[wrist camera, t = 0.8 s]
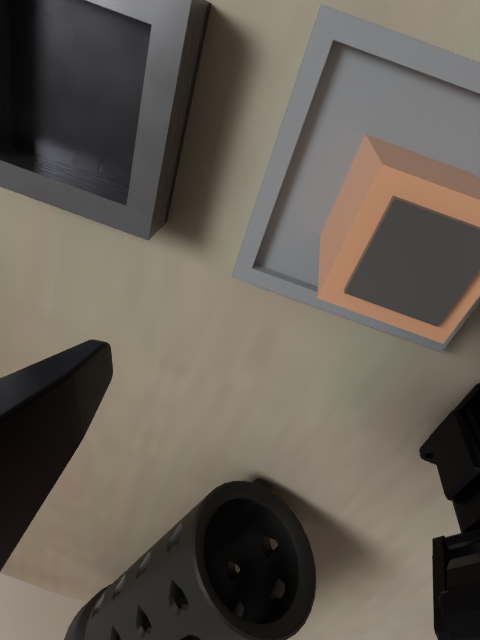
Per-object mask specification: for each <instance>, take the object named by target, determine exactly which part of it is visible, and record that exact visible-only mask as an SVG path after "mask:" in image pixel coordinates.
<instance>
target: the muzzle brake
mask: <svg viewBox="0 0 480 640" xmlns="http://www.w3.org/2000/svg"><path fill="white" fill-rule="evenodd" d="M269 537H270V538H272V539H274V540H276V541H277V543H278V546H277V547H276V548H275V549H274V550H273V549H272V547H271V545H270V541H269ZM234 563H235V564H237V565H238V566H239V568H240V571H239V572H238V573H237V572H236V569H235V566H234ZM315 590H316V568H315V563H314V558H313V553H312V550H311V547H310V543H309V540H308V538H307V536H306V534H305V531H304V529H303V527H302V525H301V524H300V522H299V520H298V519H297V517H296V516H295V514H294V513H293V512H292V510H291V509H290V508H289V507H288V506H287V504H286V503H285V502H283V501H282V500H281V499H280V498H279V497H278V496H277V495H275V494H274V493H273V491H272V488H271V486H270V485H269V484H267V483H265V482H263V481H261V480H260V479H258V478H256V479H255V480H254V481H253V482H252V483H251V482H247V481H232V482H228V483H224V484H222V485H220V486H219V487H217V488H215V489H214V490H213V491H212V492H211V493H209V494H208V495H207V496H206V497H205V498H204V499H203V500H202V501H201V502H200V503H199V504H198V505H197V506H195V507H194V508H193V509H192V510H191V511H190V512H189V513H188V514H187V515H186V516H185V517H184V518H183V519H181V520H180V521H179V522H178V523H177V524H176V525H175V526H174V527H173V528H172V529H171V530H170V531H169V532H167V533H166V534H165V535H164V536H163V537H162V538H161V539H160V540H159V541H158V542H157V543H156V544H155V545H153V546H152V547H151V548H150V549H149V550H148V551H147V552H146V553H145V554H144V555H143V556H142V557H141V558H139V559H138V560H137V561H136V562H135V563H134V564H133V565H132V566H131V567H130V568H129V569H128V570H127V571H126V572H124V573H123V574H122V575H121V576H120V577H119V578H118V579H117V580H116V581H115V582H114V583H113V584H111V585H109V586H107V587H105V588H104V589H102V590H101V591H100V592H98V593H97V594H96V595H95V596H94V597H93V598H92V599H91V600H90V601H89V602H88V603H87V604H86V605H85V606H83V607H82V608H81V610H80V611H79V612H78V614H77V615H76V616H75V617H74V619H73V621H72V623H71V625H70V627H69V628H68V631H67V633H66V636H65V639H64V640H286V639H288V638H290V637H291V636H293V635H295V634H296V633H297V632H298V631H299V630H300V629H301V627H302V626H303V625H304V624H305V622H306V620H307V618H308V616H309V614H310V612H311V609H312V606H313V602H314V598H315Z"/></svg>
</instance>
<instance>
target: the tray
mask: <svg viewBox="0 0 480 640" xmlns="http://www.w3.org/2000/svg"><path fill="white" fill-rule="evenodd" d="M365 134H367V135H370V136H372V137H375V138H378V139H381V140H383V141H386V142H389V143H392V144H394V145H397V146H400V147H402V148H405V149H408V150H411V151H413V152H416V153H419V154H422V155H424V156H427V157H430V158H432V159H435V160H438V161H441V162H443V163H446V164H449V165H452V166H454V167H457V168H460V169H462V170H465V171H468V172H471V173H472V174H474V175H475V176H476V177H478V178H479V179H480V62H477V61H474V60H472V59H469V58H466V57H463V56H461V55H458V54H455V53H453V52H450V51H447V50H444V49H442V48H439V47H436V46H434V45H431V44H428V43H426V42H423V41H420V40H417V39H415V38H412V37H409V36H407V35H404V34H401V33H398V32H396V31H393V30H390V29H388V28H385V27H382V26H379V25H377V24H374V23H371V22H369V21H366V20H363V19H361V18H358V17H355V16H352V15H350V14H347V13H344V12H342V11H339V10H336V9H333V8H331V7H328V6H325V5H323V4H321V5H320V8H319V12H318V15H317V18H316V21H315V24H314V27H313V30H312V33H311V36H310V39H309V42H308V45H307V48H306V51H305V54H304V57H303V60H302V63H301V66H300V69H299V73H298V76H297V79H296V82H295V85H294V88H293V91H292V94H291V97H290V100H289V103H288V106H287V109H286V112H285V115H284V118H283V121H282V124H281V127H280V130H279V134H278V137H277V140H276V143H275V146H274V149H273V152H272V155H271V158H270V161H269V164H268V167H267V170H266V173H265V176H264V179H263V182H262V185H261V188H260V191H259V195H258V198H257V201H256V204H255V207H254V210H253V213H252V216H251V219H250V222H249V225H248V228H247V231H246V234H245V237H244V240H243V243H242V246H241V249H240V253H239V256H238V259H237V262H236V265H235V268H234V271H233V274H232V277H234V278H237V279H239V280H242V281H245V282H248V283H250V284H253V285H256V286H259V287H261V288H264V289H267V290H270V291H272V292H275V293H278V294H281V295H284V296H286V297H289V298H292V299H295V300H297V301H300V302H303V303H306V304H308V305H311V306H314V307H317V308H319V309H322V310H325V311H328V312H330V313H333V314H336V315H339V316H342V317H344V318H347V319H350V320H353V321H355V322H358V323H361V324H364V325H366V326H369V327H372V328H375V329H377V330H380V331H383V332H386V333H388V334H391V335H394V336H397V337H400V338H402V339H405V340H408V341H411V342H413V343H416V344H419V345H422V346H424V347H427V348H430V349H433V350H435V351H438V352H442V351H443V350H444V349H445V347H446V346H447V345H448V343H449V342H450V341H451V339H452V338H453V337H454V336H455V334H456V333H457V332H458V330H459V329H460V328H461V326H462V325H463V324H464V323H465V321H466V320H467V319H468V317H469V316H470V315H471V313H472V312H473V311H474V310H475V308H476V307H477V306H478V304H479V303H480V296H479V297H478V299H477V300H476V301H475V303H474V304H473V305H472V307H471V308H470V309H469V311H468V312H467V313H466V315H465V316H464V317H463V318H462V320H461V321H460V322H459V324H458V325H457V326H456V328H455V329H454V330H453V332H452V333H451V334H450V336H449V337H448V338H447V340H446V341H445V342H444V344H442V343H440V342H437V341H434V340H431V339H429V338H426V337H423V336H420V335H417V334H415V333H412V332H409V331H406V330H404V329H401V328H398V327H395V326H393V325H390V324H387V323H384V322H382V321H379V320H376V319H373V318H371V317H368V316H365V315H362V314H360V313H357V312H354V311H351V310H348V309H346V308H343V307H340V306H337V305H335V304H332V303H329V302H326V301H324V300H321V299H318V275H319V253H320V235H321V233H322V231H323V228H324V226H325V224H326V222H327V219H328V217H329V215H330V213H331V210H332V208H333V206H334V204H335V201H336V199H337V197H338V195H339V192H340V190H341V188H342V186H343V183H344V181H345V179H346V176H347V174H348V172H349V170H350V167H351V165H352V163H353V161H354V158H355V156H356V154H357V152H358V149H359V147H360V145H361V143H362V140H363V138H364V136H365Z"/></svg>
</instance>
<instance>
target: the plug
mask: <svg viewBox="0 0 480 640" xmlns="http://www.w3.org/2000/svg"><path fill="white" fill-rule="evenodd" d="M479 296H480V179H479V178H478V177H476V176H475V175H474V174H472V173H471V172H468V171H465V170H462V169H460V168H457V167H454V166H452V165H449V164H446V163H443V162H441V161H438V160H435V159H432V158H430V157H427V156H424V155H422V154H419V153H416V152H413V151H411V150H408V149H405V148H402V147H400V146H397V145H394V144H392V143H389V142H386V141H383V140H381V139H378V138H375V137H372V136H370V135H367V134H365V136H364V138H363V140H362V143H361V145H360V147H359V149H358V152H357V154H356V156H355V158H354V161H353V163H352V165H351V167H350V170H349V172H348V174H347V176H346V179H345V181H344V183H343V186H342V188H341V190H340V192H339V195H338V197H337V199H336V201H335V204H334V206H333V208H332V210H331V213H330V215H329V217H328V219H327V222H326V224H325V226H324V228H323V231H322V233H321V235H320V253H319V275H318V299H321V300H324V301H326V302H329V303H332V304H335V305H337V306H340V307H343V308H346V309H348V310H351V311H354V312H357V313H360V314H362V315H365V316H368V317H371V318H373V319H376V320H379V321H382V322H384V323H387V324H390V325H393V326H395V327H398V328H401V329H404V330H406V331H409V332H412V333H415V334H417V335H420V336H423V337H426V338H429V339H431V340H434V341H437V342H440V343H442V344H444V342H445V341H446V340H447V338H448V337H449V336H450V334H451V333H452V332H453V330H454V329H455V328H456V326H457V325H458V324H459V322H460V321H461V320H462V318H463V317H464V316H465V315H466V313H467V312H468V311H469V309H470V308H471V307H472V305H473V304H474V303H475V301H476V300H477V299H478V297H479Z"/></svg>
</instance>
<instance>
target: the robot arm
mask: <svg viewBox="0 0 480 640" xmlns="http://www.w3.org/2000/svg"><path fill="white" fill-rule="evenodd" d="M112 375H113V365H112V354H111V347H110V344H109V343H107V342H103V341H99V340H88V341H86V342H84V343H81V344H79V345H77V346H74V347H72V348H70V349H67V350H65V351H63V352H60V353H58V354H56V355H53V356H51V357H49V358H47V359H44V360H42V361H40V362H37V363H35V364H33V365H30V366H28V367H26V368H23V369H21V370H19V371H16V372H14V373H12V374H9V375H7V376H5V377H2V378H0V571H1V569H2V568H3V566H4V565H5V563H6V561H7V560H8V558H9V557H10V555H11V553H12V552H13V550H14V549H15V547H16V545H17V544H18V542H19V541H20V539H21V537H22V536H23V534H24V533H25V531H26V529H27V528H28V526H29V525H30V523H31V521H32V520H33V518H34V517H35V515H36V513H37V512H38V510H39V509H40V507H41V505H42V504H43V502H44V501H45V499H46V497H47V496H48V494H49V493H50V491H51V489H52V488H53V486H54V485H55V483H56V481H57V480H58V478H59V477H60V475H61V473H62V472H63V470H64V469H65V467H66V465H67V464H68V462H69V461H70V459H71V457H72V456H73V454H74V453H75V451H76V449H77V448H78V446H79V444H80V443H81V441H82V439H83V438H84V436H85V434H86V432H87V430H88V428H89V426H90V424H91V422H92V419H93V417H94V415H95V413H96V411H97V409H98V407H99V405H100V403H101V401H102V399H103V396H104V394H105V392H106V390H107V388H108V386H109V384H110V382H111V379H112ZM419 452H420V456H421V458H422V459H423V460H425V461H428V462H430V463H433V464H436V465H437V468H438V472H439V475H440V479H441V483H442V486H443V490H444V494H445V496H446V498H447V499H448V500H450V501H452V502H453V506H454V509H455V512H456V516H457V519H458V523H459V526H460V530H461V533H460V534H456V535H452V536H449V537H444V536H441V537H437V538H433V556H432V559H433V602H434V630H435V634H436V636H437V638H438V640H480V383H479V384H477V385H476V386H475V387H474V388H473V389H472V390H471V391H470V392H469V393H468V395H467V396H466V397H465V398H464V399H463V400H462V401H461V402H460V404H459V405H458V406H457V407H456V408H455V409H454V410H453V411H452V412H451V413H450V414H449V415H448V416H447V417H446V418H445V420H444V421H443V422H442V423H441V424H440V425H439V426H438V427H437V429H436V430H435V431H434V432H433V433H432V434H431V435H430V437H429V439H428V440H427V441H426V442H425V443H424V444H423V445H422V446H421V448H420V449H419Z"/></svg>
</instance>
